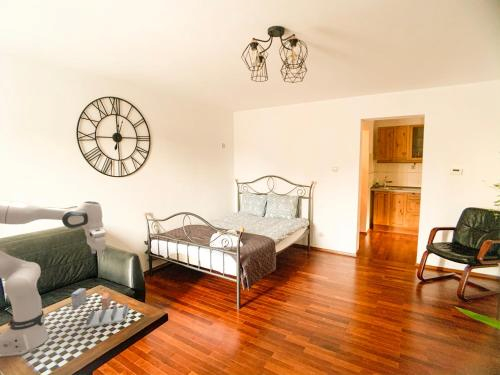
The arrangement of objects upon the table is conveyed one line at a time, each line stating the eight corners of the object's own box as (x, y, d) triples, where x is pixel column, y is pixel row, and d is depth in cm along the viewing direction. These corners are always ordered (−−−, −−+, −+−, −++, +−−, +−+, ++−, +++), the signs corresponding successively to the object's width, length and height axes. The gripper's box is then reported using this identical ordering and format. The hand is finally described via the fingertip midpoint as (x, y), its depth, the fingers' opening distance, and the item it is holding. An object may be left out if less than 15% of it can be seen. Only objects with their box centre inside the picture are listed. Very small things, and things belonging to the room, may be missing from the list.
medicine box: (80, 300, 174) (79, 288, 173) (87, 300, 174) (85, 288, 173) (71, 307, 166) (70, 294, 165) (78, 307, 166) (77, 294, 165)
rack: (85, 328, 145) (84, 321, 144) (92, 314, 158) (91, 307, 158) (125, 320, 151) (125, 313, 150) (129, 307, 164) (128, 301, 164)
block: (102, 310, 162) (101, 299, 162) (105, 303, 170) (104, 293, 169) (107, 309, 163) (106, 298, 162) (110, 302, 171) (109, 292, 170)
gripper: (82, 228, 151) (84, 252, 152) (93, 235, 137) (96, 261, 138) (94, 226, 155) (96, 249, 157) (107, 232, 141) (109, 257, 142)
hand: (96, 255), depth 147 cm, fingers open, 8 cm apart
